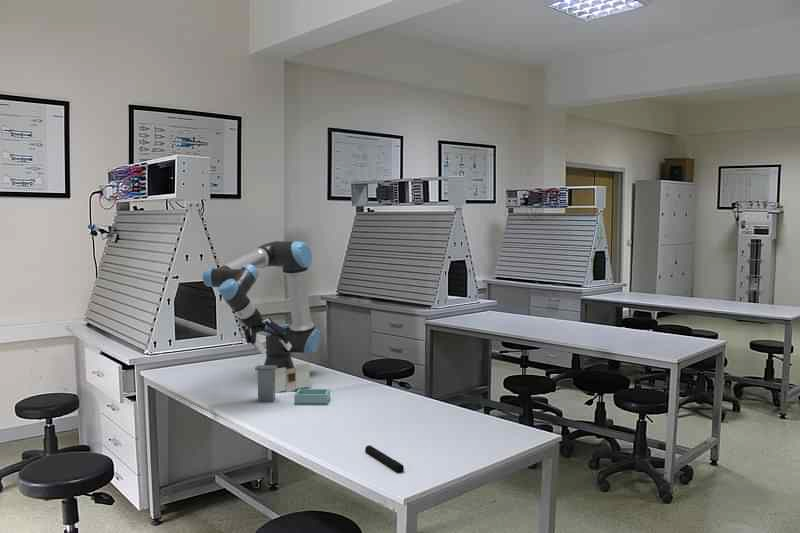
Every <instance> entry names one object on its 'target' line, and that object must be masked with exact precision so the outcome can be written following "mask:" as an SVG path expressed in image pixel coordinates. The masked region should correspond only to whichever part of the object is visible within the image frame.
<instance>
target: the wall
mask: <svg viewBox="0 0 800 533" xmlns="http://www.w3.org/2000/svg"><path fill="white" fill-rule="evenodd" d="M310 375H311V374H310V364H309V363H305V364H297V365H295V368H291V369H286V367H284V368H278V369H276V370H275V394H276V393H279V392H280V393H281V392H287V393H289V392H293V391H297V390H298V389H305V388H309V387H311V379H310V378H311V376H310Z"/></svg>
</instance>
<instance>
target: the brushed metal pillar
mask: <svg viewBox="0 0 800 533" xmlns="http://www.w3.org/2000/svg"><path fill="white" fill-rule="evenodd" d="M276 369H277V365H264V364H261V365H256V366H255V367H254V370H255V371H257V403H274V401H275V400H276V393H275V370H276Z"/></svg>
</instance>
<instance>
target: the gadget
mask: <svg viewBox="0 0 800 533" xmlns="http://www.w3.org/2000/svg"><path fill="white" fill-rule="evenodd" d="M364 450H365V453H367V454H368V455H370V456H371V457H372V458H374V459H376V460H378V461H379V462H380V463H381V464H384V465H385V466H387V467H388V468H390V469H392V470H393V471H395V472H396V473H400V474H401V473H403V472H404V470H405V467H404V465H403V464H402V463H400V462H399V461H397V460H396V459H393V458H392V457H390V456H388V455H387V454H386V453H384V452H381V451H380V450H379V449H377V448H375V447H374V446H372V445H366V447H365V448H364Z"/></svg>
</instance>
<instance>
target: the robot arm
mask: <svg viewBox="0 0 800 533" xmlns="http://www.w3.org/2000/svg"><path fill="white" fill-rule="evenodd" d="M312 255H313V254H312V250H311V248H310V246H309V244H307V243H306V242H304V241H297V240H292V241H289V240H288V241H285V240H283V241H282V240H281V241H280V240H279V241H276V240H275V241H271V242H267V243H265V244H262V245H260V246H257V247H255V248H253V249H252V250H251V251H250V252H249V253H248V254H245V255H243V256H241V257H239V258H237V259H234V260H232V261H230V262H228V263H225V264H224V265H222V266H219V267H217V268H216V267H215V268H213V267H211V268H207V269H205V270H204V271H203V274H202V282H203V284H204V286H206V287H211V288H218V293H219V295H220V296H221V297H222V299H223V300H224V301H225V303H226V304H227V305H228V306H229V307H230V309H231V310H232V311H233V312H234V313H235V314H236V316H237V317H238V318H239V319H240V321H241V322H242V323H243V324H242V326H241V329H242V331H243V333H244V338H245V341H246V344H248V345H249V344H251V345H253V346H254V348H255V349H257V350H258V352H259V353H260V354H261V355H262V356H264V355H265V356H266V357H265V361H264V364H263V365H277V369H278V368H284V367H286V369H291V368H296V366H295V364H294V362H293V360H292V354H291V353H294V354H304V355H306V354H309V355H310V354H314V353H316V352H317V351H318V349H319V347H320V344H321V337H322V336H321V335H322V334H321V331H320V330H319V329H318V328H316V326H315V323H314V322H313V321H312V320H311V319H312V318H311V311H310V301H309V294H308V286H307V284H308V283H307V277H306V273H307V272H308V270H309V267H310V266H311V264H312V261H313V260H312V259H313V256H312ZM266 267H267V268H268V267H281V268H282V274H284V275H286V281H287V290H288V298H289V307H290V314H291V322H292V324H290V323H284V324H282V323H281V324H277V322H275V321H273V320H272V319H271V318H270V317H267V318H266V319H263V317H262V313H261V312H260V311H259V310H258V308H257V307H256V305H254V303H253V302H252V301H251V299H250V298H249V296H248V295H247V294H248V293H249V291H250V290H251V288H252V287H253V285H254V284H255V283H256V282H257V279H258V277H259V276H260V273H259V270H258V269H264V268H266ZM259 332H264V333H265V346H264V345H263V343H262V342H261V341H260V339H259V338H257V334H258V333H259Z"/></svg>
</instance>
